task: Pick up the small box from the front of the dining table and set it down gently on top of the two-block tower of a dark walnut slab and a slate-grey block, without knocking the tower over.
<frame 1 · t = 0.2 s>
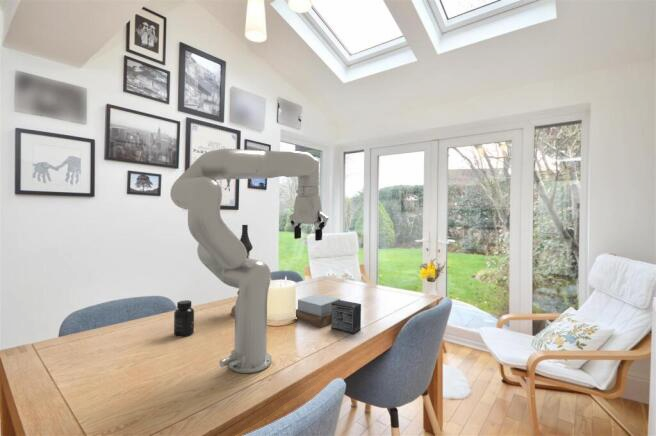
hand: (307, 239, 113), 36 cm above the table, tool pointing down, fingers open, 9 cm apart
tan wooden rounded piece: (243, 313, 141), on the table
tower base: (318, 319, 136), on the table, touching tower top
small box: (346, 329, 124), on the table
supplement bottle: (184, 334, 116), on the table
tower top: (318, 309, 136), point 4 cm above the table, touching tower base
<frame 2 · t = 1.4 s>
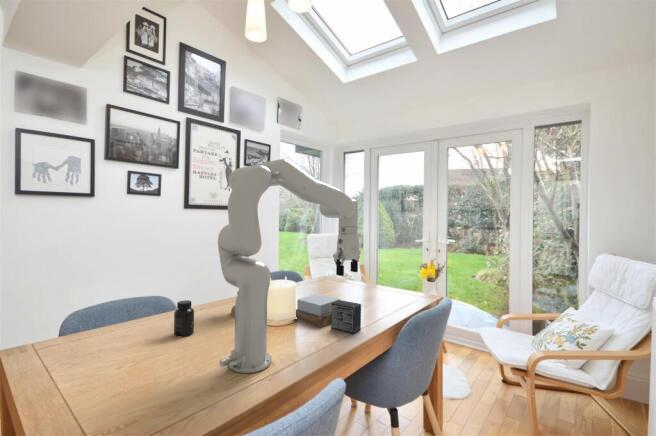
hand: (347, 273, 124), 22 cm above the table, tool pointing down, fingers open, 9 cm apart
nothing on the table moved.
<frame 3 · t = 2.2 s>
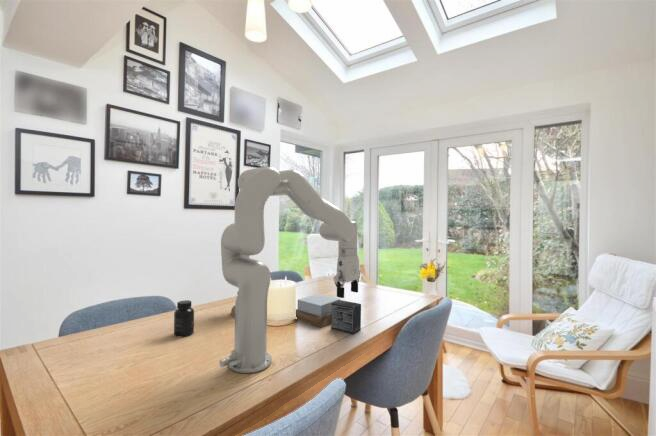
hand: (347, 294, 124), 14 cm above the table, tool pointing down, fingers open, 9 cm apart
nothing on the table moved.
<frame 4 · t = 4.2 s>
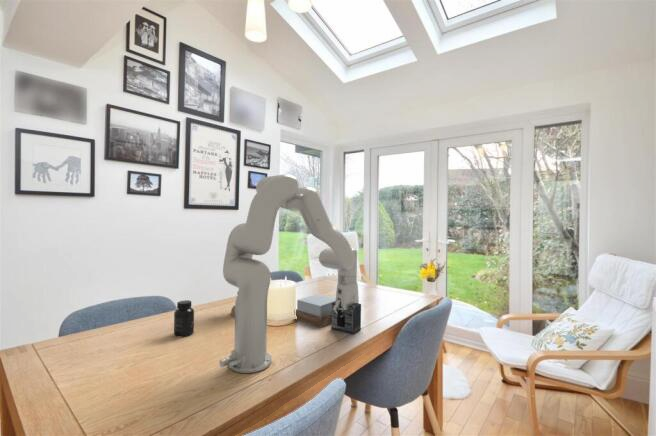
hand: (346, 323, 124), 2 cm above the table, tool pointing down, fingers closed on small box, 6 cm apart
small box: (346, 329, 124), on the table, touching gripper
everything else where it was.
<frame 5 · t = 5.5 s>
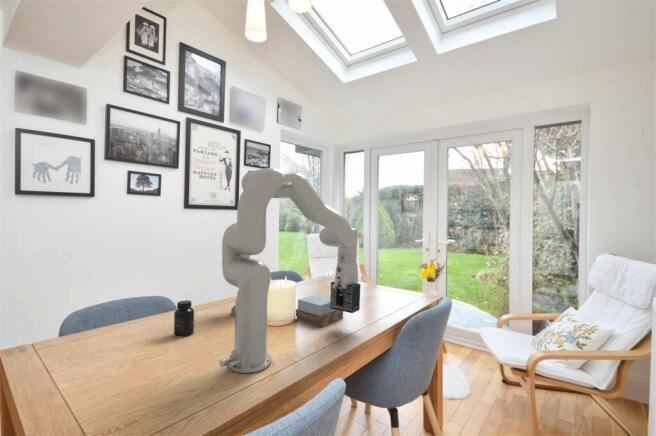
hand: (345, 303, 123), 10 cm above the table, tool pointing down, fingers closed on small box, 6 cm apart
tower base: (318, 319, 136), on the table
small box: (344, 309, 123), point 8 cm above the table, touching gripper
tower top: (319, 309, 135), point 4 cm above the table
everything else where it was.
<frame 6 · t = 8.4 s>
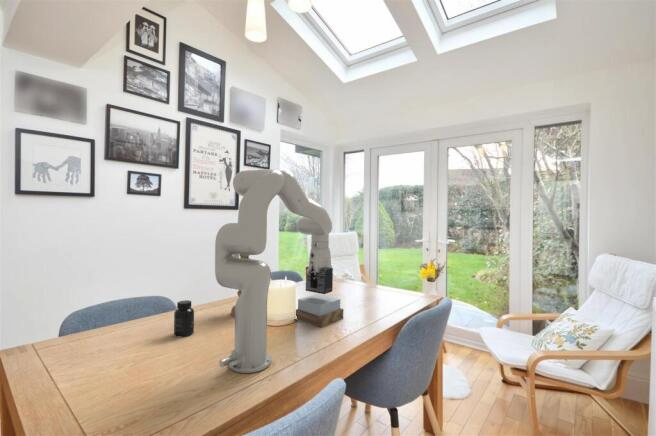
hand: (319, 285, 135), 14 cm above the table, tool pointing down, fingers closed on small box, 6 cm apart
tower base: (319, 319, 136), on the table, touching tower top
small box: (319, 291, 135), point 12 cm above the table, touching gripper
tower top: (319, 309, 136), point 4 cm above the table, touching tower base
everything else where it was.
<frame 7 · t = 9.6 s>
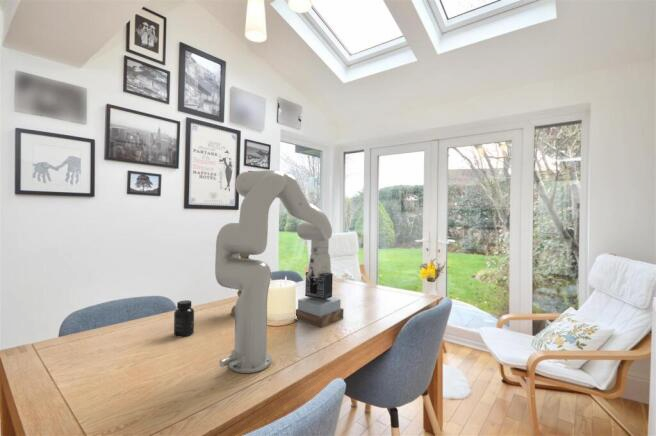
hand: (318, 291, 135), 12 cm above the table, tool pointing down, fingers closed on small box, 6 cm apart
small box: (318, 297, 135), point 9 cm above the table, touching gripper
everything else where it was.
when the fingers open (12 cm above the table, at t = 9.7 s): small box drops 1 cm, point 8 cm above the table.
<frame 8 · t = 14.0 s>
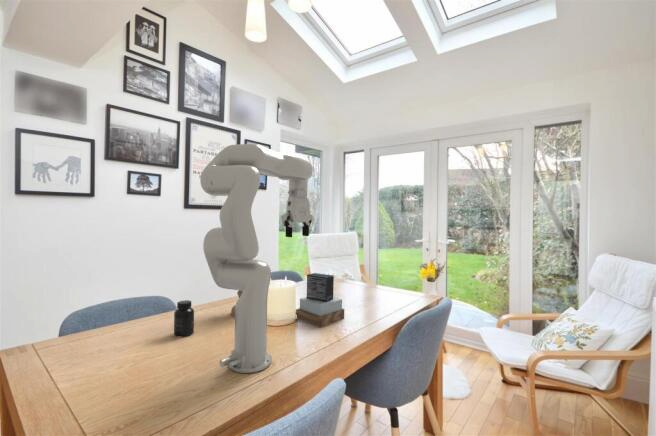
hand: (297, 236, 127), 36 cm above the table, tool pointing down, fingers open, 9 cm apart
small box: (320, 299, 136), point 8 cm above the table
at the end: small box 0.5 cm off-centre on the tower top, point 4.3 cm above the tower top's base; tower top 0.2 cm off-centre on the tower base, point 4.5 cm above the tower base's base; small box tilted 0° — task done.
